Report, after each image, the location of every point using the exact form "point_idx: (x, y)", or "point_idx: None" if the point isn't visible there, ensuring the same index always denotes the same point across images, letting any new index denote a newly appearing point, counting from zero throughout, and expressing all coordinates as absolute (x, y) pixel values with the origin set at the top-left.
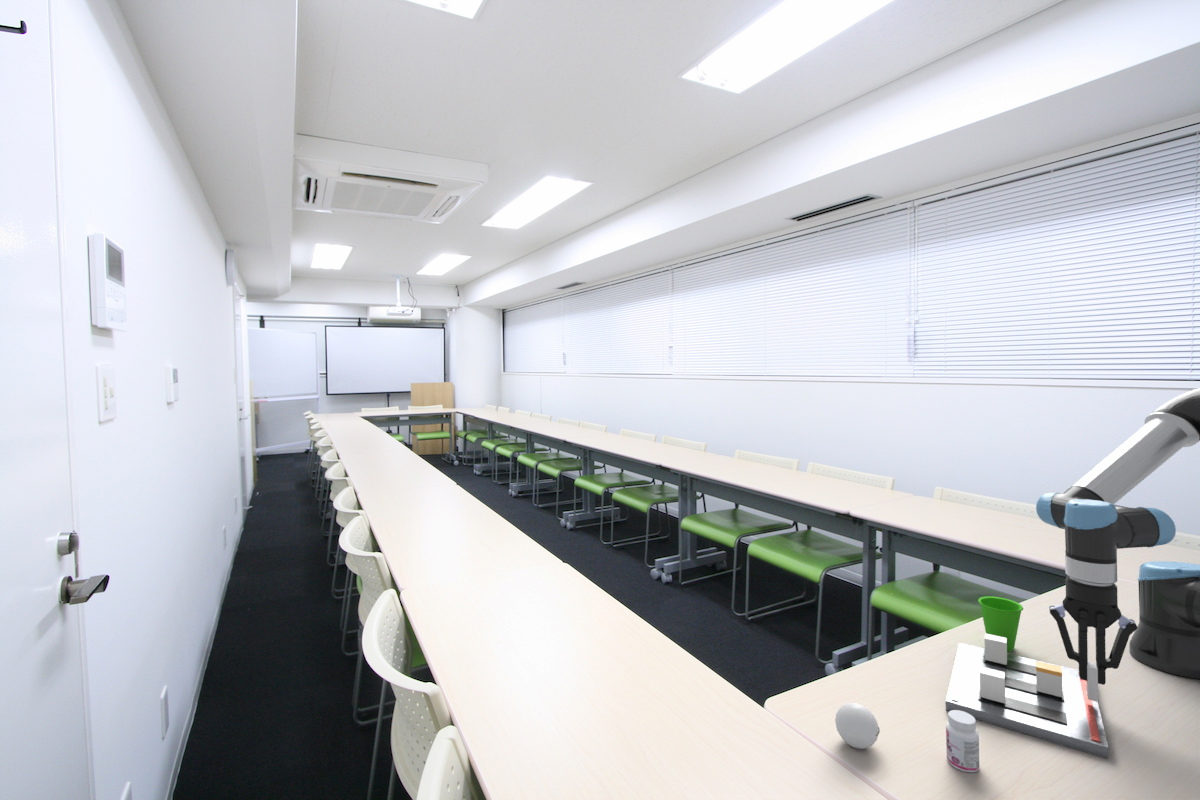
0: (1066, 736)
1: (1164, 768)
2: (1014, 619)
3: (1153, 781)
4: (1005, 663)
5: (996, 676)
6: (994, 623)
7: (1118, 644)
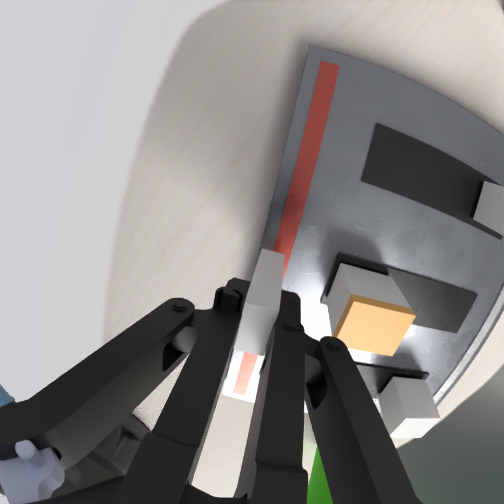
0: (390, 72)
1: (203, 67)
2: (326, 488)
3: (246, 13)
4: (395, 378)
5: None
6: None
7: (110, 374)
